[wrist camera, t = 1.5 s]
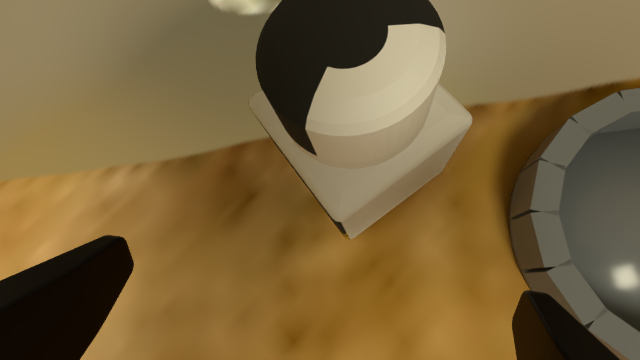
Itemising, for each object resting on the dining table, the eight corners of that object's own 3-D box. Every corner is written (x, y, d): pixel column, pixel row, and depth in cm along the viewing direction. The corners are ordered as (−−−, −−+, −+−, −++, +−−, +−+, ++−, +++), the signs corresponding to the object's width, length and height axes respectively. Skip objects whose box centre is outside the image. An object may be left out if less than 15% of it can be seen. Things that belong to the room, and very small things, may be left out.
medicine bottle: (281, 152, 23) (190, 25, 12) (370, 87, 23) (366, -98, 12) (348, 242, 21) (319, 195, 9) (445, 170, 21) (529, 39, 10)
